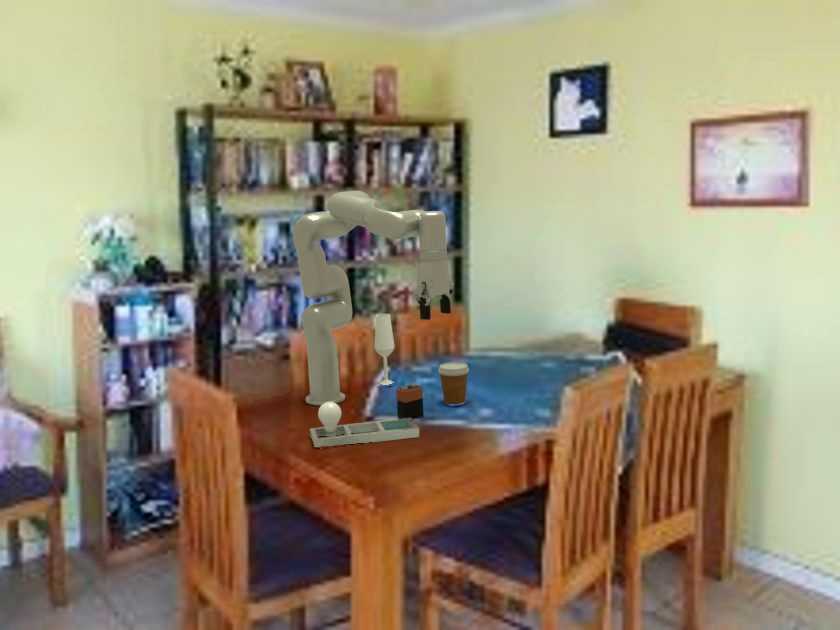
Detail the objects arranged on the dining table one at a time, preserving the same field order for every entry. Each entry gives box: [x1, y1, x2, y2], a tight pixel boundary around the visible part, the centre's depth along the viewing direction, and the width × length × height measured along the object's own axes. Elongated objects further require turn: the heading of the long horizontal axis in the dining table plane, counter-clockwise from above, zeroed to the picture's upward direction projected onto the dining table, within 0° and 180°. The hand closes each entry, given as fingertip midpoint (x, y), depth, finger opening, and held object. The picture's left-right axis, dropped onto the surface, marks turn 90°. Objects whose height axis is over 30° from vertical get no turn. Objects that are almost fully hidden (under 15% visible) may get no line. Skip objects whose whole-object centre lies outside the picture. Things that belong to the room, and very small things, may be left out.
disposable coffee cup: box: [437, 361, 470, 404], centre depth 265 cm, size 10×10×12 cm
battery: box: [396, 382, 424, 420], centre depth 253 cm, size 4×7×10 cm, turn 128°
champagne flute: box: [374, 313, 395, 385], centre depth 288 cm, size 7×7×24 cm
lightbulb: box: [317, 402, 342, 437], centre depth 235 cm, size 6×6×11 cm
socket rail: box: [309, 417, 420, 448], centre depth 238 cm, size 10×29×2 cm, turn 103°
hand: (435, 316), depth 242 cm, fingers open, 9 cm apart
